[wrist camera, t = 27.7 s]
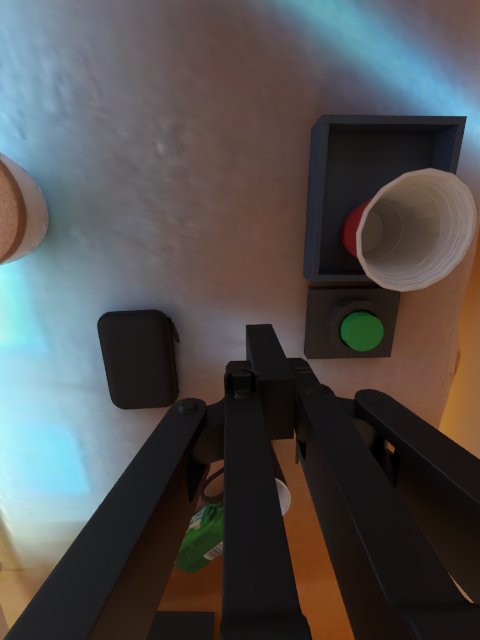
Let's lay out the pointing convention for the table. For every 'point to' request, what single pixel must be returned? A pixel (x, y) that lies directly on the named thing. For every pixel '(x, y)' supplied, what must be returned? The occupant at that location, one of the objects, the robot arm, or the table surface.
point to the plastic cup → (412, 230)
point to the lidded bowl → (20, 212)
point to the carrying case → (139, 358)
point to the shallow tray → (365, 176)
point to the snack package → (202, 539)
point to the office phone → (182, 626)
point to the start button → (361, 331)
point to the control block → (335, 306)
